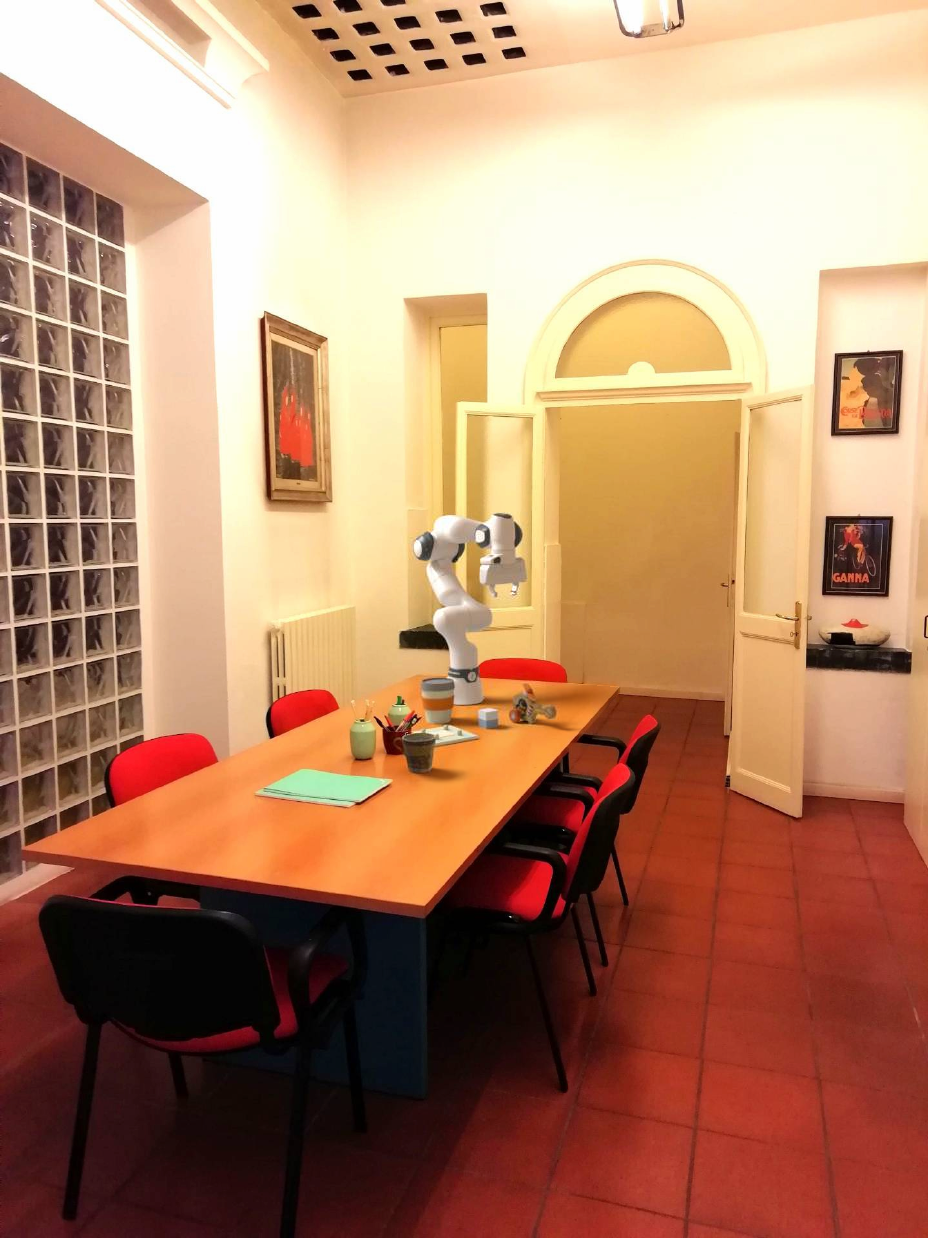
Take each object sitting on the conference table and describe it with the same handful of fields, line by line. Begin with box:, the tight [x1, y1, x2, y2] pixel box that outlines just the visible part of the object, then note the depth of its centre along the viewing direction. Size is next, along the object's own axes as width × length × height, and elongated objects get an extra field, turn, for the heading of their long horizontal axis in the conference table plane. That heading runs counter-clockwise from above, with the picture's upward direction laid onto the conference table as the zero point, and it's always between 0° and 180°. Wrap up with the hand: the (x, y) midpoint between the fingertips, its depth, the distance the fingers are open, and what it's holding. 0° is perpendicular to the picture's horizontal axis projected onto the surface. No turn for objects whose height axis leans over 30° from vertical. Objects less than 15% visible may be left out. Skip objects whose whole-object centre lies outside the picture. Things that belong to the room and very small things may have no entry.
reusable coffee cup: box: [420, 677, 455, 725], centre depth 320 cm, size 12×13×15 cm
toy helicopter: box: [508, 682, 557, 725], centre depth 312 cm, size 8×21×14 cm, turn 39°
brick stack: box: [477, 707, 499, 730], centre depth 310 cm, size 5×5×6 cm
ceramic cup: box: [393, 733, 436, 774], centre depth 260 cm, size 13×10×10 cm
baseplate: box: [412, 724, 479, 747], centre depth 297 cm, size 18×18×2 cm
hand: (504, 596), depth 319 cm, fingers open, 8 cm apart
